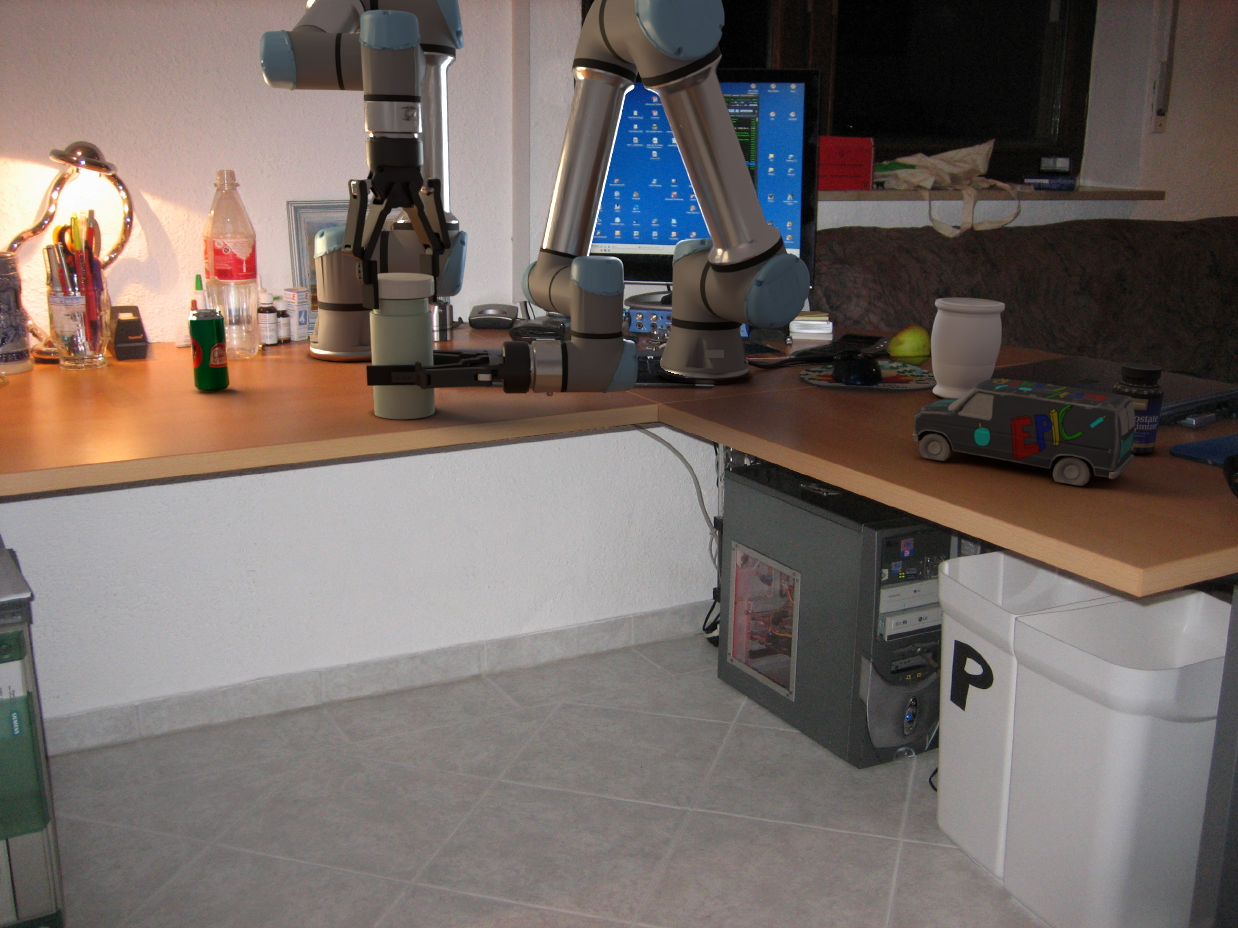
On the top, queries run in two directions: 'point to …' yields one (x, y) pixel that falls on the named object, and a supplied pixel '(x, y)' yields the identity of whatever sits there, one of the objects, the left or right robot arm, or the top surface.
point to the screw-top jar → (402, 355)
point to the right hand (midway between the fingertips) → (369, 368)
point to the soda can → (209, 350)
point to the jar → (964, 343)
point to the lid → (405, 285)
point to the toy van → (1033, 428)
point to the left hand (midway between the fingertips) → (400, 304)
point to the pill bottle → (1142, 401)
